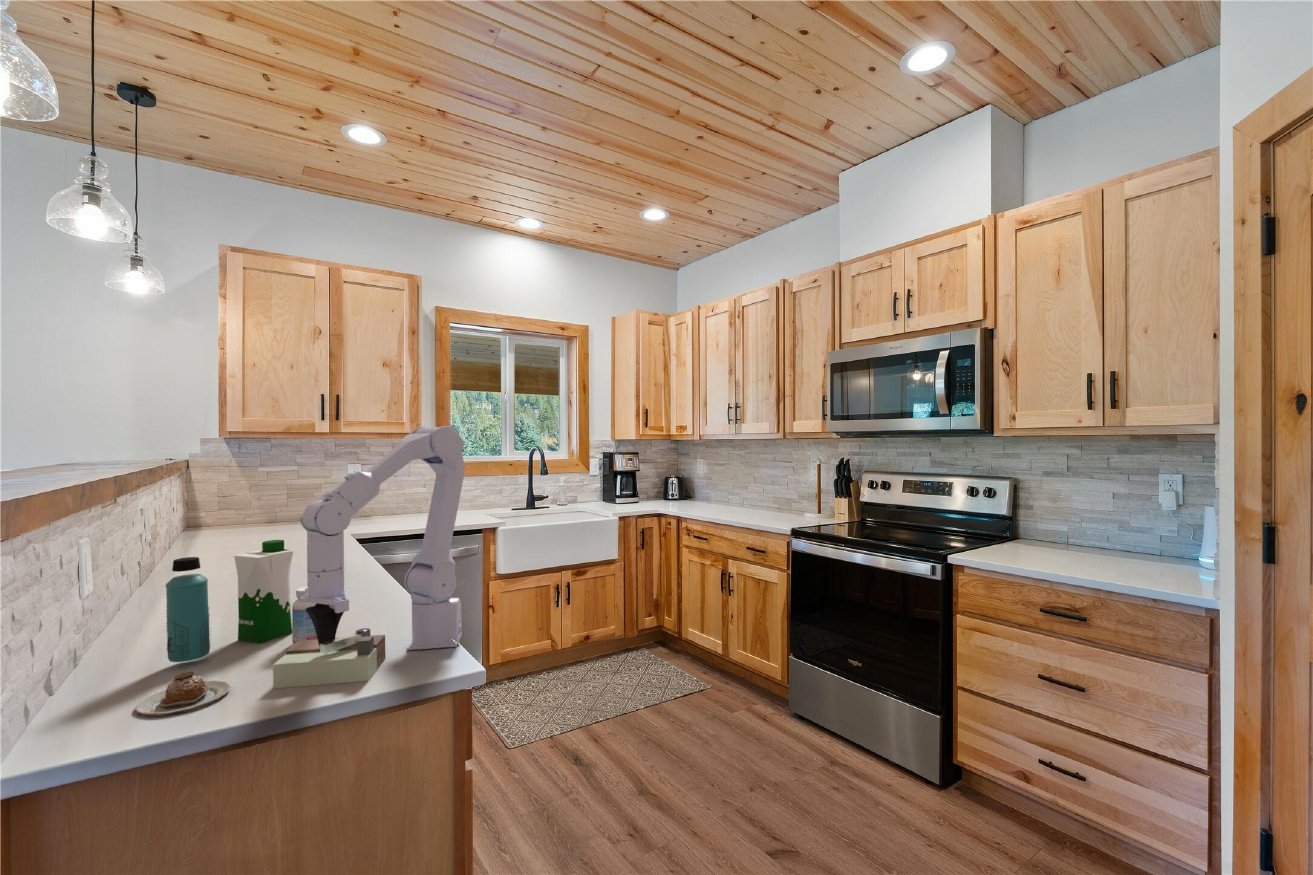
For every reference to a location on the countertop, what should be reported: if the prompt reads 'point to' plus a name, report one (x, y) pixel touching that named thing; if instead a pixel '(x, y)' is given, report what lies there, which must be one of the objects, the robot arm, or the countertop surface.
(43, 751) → the countertop surface
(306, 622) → the pill bottle
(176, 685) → the pastry
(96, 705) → the countertop surface
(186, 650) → the beverage bottle
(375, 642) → the block
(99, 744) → the countertop surface
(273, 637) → the milk carton
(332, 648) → the bar
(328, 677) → the pale green long block
